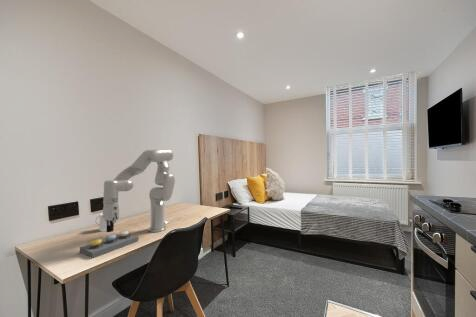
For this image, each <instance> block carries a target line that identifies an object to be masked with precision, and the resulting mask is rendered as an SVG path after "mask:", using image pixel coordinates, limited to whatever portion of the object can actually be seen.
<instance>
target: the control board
mask: <svg viewBox="0 0 476 317" xmlns="http://www.w3.org/2000/svg"><path fill="white" fill-rule="evenodd" d="M137 242H139V236H137V235H134V234H130V233H129V234H128V235H126V236H120V234H117V235H116V239H114V240H111V241H106V238H105V239H102V243H101V244H99V245H96V246H91V243H89V244H86V245H82V246H80V247H79V253H80V254H82V255H84V256H86V257H88V258H90V257H91V258H90V259H92V258H93V259H95V258H97V257H101V256H103V255H105V254H108V253H110V252H114V251H116V250H120V249H122V248H124V247H127V246H129V245H133V244H134V243H137Z"/></svg>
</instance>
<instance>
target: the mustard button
mask: <svg viewBox="0 0 476 317" xmlns="http://www.w3.org/2000/svg"><path fill="white" fill-rule="evenodd" d="M102 240H103V239H102V238H95V239H92V240H91V241H90V244H91V246H96V245H99V244H101V243H102Z"/></svg>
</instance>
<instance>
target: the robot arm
mask: <svg viewBox="0 0 476 317" xmlns="http://www.w3.org/2000/svg"><path fill="white" fill-rule="evenodd" d="M173 158H174V153H173V151H172V150H170V149H151V150H150V149H147V150H144V151H142V153H141V154H140V155H139V156H138V157H137V158H136V160H135V161H134V162H133V163H132V164H131V165H129V166H128V167H126V168H124V169H123V170H122V171H121V172H119V173H118V174H117V175H116V177H115V178H114V179H110V180H109V179H108V180H105V181H104V183H103V198H102V199H103V201H102V203H103V206H102V207H103V208H102V213H103V219H104V220H105V221H106V225H107V229H106V231H105V232H106V233H111V232H114V227H115V226H114V225H115V224H116V223H117V220H120V206H119V192H129V191H131V190H132V189H133V188H134V183H133V181H132V180H131V178H132V177H135V176H137V175H140V174H142V173H144V172H145V171H146V169H147V167H148V166H149V165H150V164H151V163H156V164H157V169H156V173H155V177H154V183H155V185H157V186H156V187H153V188H151V189H150V191H149V193H148V194H149V195H148V196H149V202H150V227H149V228H148V231H149V232H150V233H158V232H159V233H160V232H163V231H165V230H166V229H167V225H169V224H170V221H168V220H167V221H165V202H169V200H171V198H172V196H173V193H174V188H175V184H176V179H175V175H173V174H172V173H170V172H169V171H170V165H169V162H171V161H172V160H173ZM158 186H159V187H158ZM161 186H162V187H161Z"/></svg>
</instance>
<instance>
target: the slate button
mask: <svg viewBox="0 0 476 317" xmlns="http://www.w3.org/2000/svg"><path fill="white" fill-rule="evenodd" d="M116 236H117V235H116V234H115V233H112V234H108V235H106V236H105V239H106V241H111V240H114V239H116Z"/></svg>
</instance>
